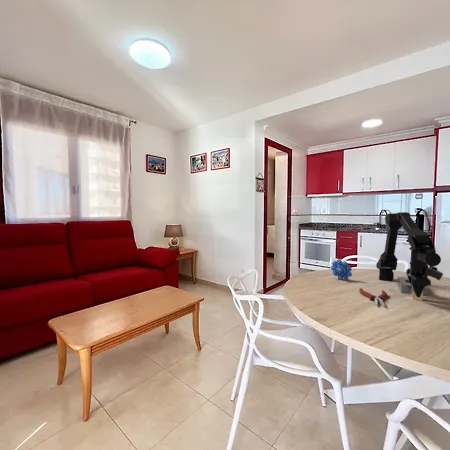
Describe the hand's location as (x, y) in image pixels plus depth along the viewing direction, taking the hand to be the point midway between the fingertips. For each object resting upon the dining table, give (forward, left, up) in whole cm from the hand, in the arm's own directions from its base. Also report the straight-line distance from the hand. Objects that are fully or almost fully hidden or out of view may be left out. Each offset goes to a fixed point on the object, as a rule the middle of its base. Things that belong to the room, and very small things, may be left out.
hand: (416, 294), depth 111 cm
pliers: (-18, -9, -3) cm, 20 cm away
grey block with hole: (0, +15, -2) cm, 15 cm away
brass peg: (0, 0, -2) cm, 2 cm away
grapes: (-33, +16, -2) cm, 37 cm away
